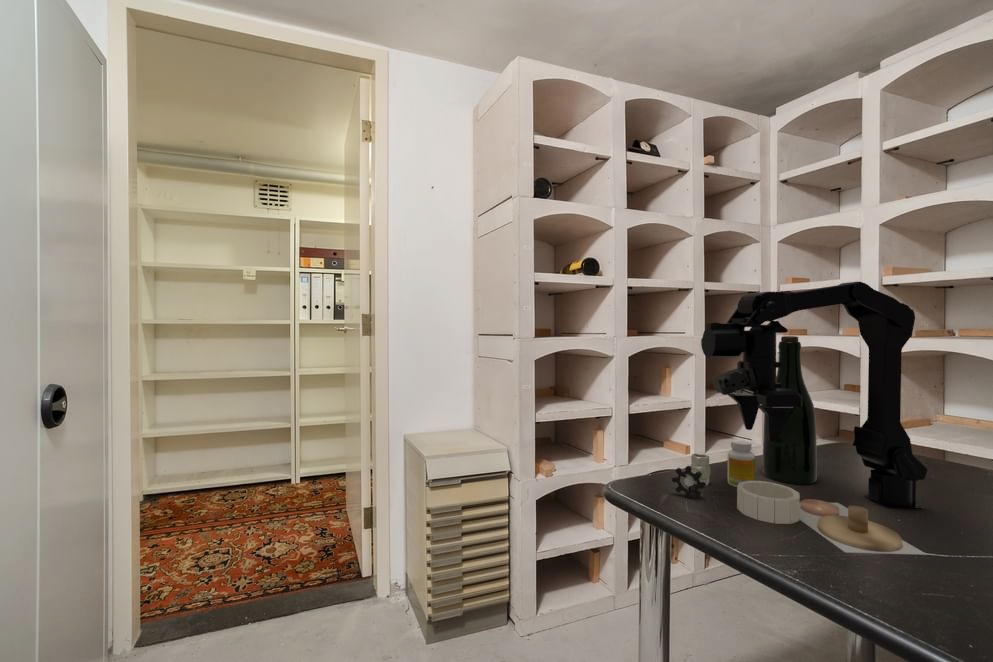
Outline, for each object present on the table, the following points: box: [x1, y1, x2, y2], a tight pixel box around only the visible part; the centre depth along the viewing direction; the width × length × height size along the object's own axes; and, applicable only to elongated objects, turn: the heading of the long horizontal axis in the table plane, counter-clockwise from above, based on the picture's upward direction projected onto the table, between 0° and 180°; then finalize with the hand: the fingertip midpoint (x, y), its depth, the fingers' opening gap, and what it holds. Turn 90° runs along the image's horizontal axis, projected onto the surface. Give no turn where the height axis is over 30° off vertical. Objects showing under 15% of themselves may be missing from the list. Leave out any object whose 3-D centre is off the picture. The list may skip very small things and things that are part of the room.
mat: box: [799, 501, 928, 556], centre depth 80 cm, size 12×20×1 cm, turn 176°
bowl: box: [736, 480, 801, 525], centre depth 86 cm, size 10×10×4 cm
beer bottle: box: [762, 335, 818, 486], centre depth 104 cm, size 10×10×33 cm
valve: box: [671, 452, 711, 499], centre depth 98 cm, size 7×7×12 cm
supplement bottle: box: [726, 439, 756, 488], centre depth 100 cm, size 5×5×10 cm
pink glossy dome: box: [800, 498, 839, 517], centre depth 86 cm, size 6×6×1 cm
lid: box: [818, 505, 903, 552], centre depth 76 cm, size 11×11×4 cm
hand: (759, 435), depth 89 cm, fingers open, 9 cm apart
